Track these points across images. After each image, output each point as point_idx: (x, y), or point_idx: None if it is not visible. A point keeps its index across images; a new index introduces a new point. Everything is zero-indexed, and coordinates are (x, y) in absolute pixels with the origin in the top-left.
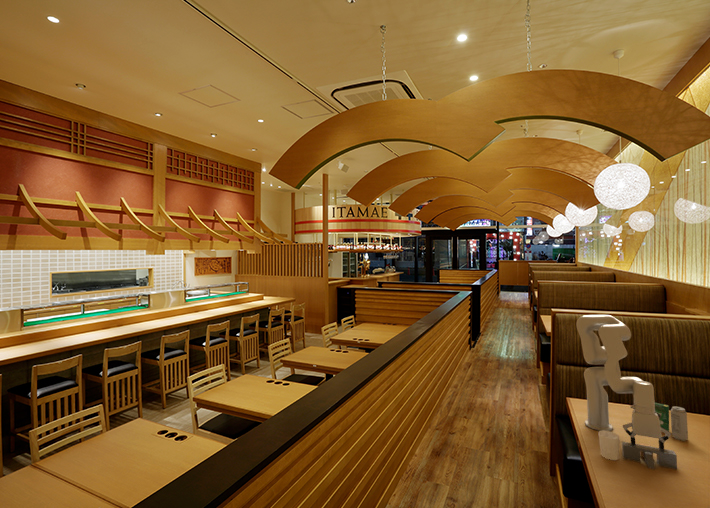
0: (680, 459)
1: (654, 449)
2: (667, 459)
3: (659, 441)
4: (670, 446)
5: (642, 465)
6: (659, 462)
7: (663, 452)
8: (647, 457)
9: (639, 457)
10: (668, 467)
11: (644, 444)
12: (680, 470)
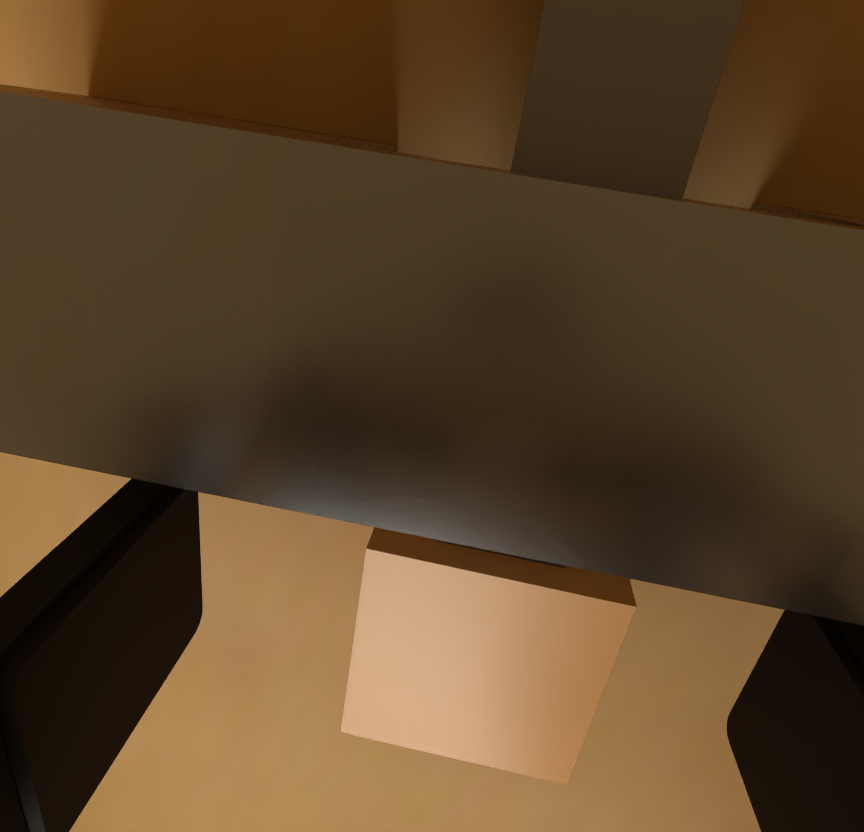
0: (2, 524)
1: (369, 333)
2: (135, 107)
3: (25, 758)
4: (79, 821)
5: (805, 12)
6: (370, 142)
7: (96, 138)
8: (715, 36)
9: (824, 215)
10: (230, 119)
11: (459, 753)
12: (36, 70)
